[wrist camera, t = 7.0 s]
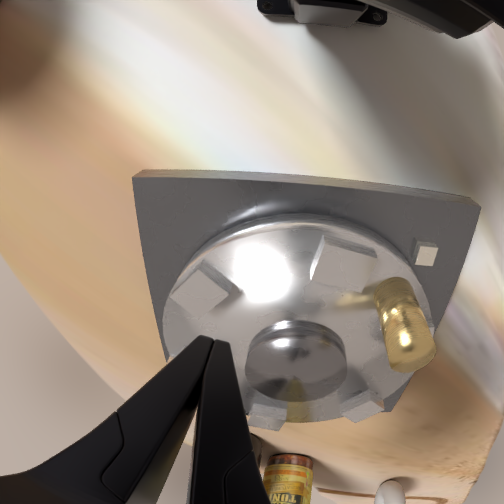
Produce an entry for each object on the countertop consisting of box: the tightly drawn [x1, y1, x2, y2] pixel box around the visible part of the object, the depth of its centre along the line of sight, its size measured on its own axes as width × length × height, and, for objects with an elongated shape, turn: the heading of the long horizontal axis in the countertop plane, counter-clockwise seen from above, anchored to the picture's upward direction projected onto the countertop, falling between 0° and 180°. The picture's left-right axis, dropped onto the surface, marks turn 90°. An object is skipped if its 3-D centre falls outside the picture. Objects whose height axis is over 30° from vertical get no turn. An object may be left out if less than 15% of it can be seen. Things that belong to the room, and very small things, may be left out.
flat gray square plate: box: [132, 170, 481, 412], centre depth 21 cm, size 20×20×2 cm
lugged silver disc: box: [162, 213, 436, 431], centre depth 18 cm, size 17×17×6 cm
